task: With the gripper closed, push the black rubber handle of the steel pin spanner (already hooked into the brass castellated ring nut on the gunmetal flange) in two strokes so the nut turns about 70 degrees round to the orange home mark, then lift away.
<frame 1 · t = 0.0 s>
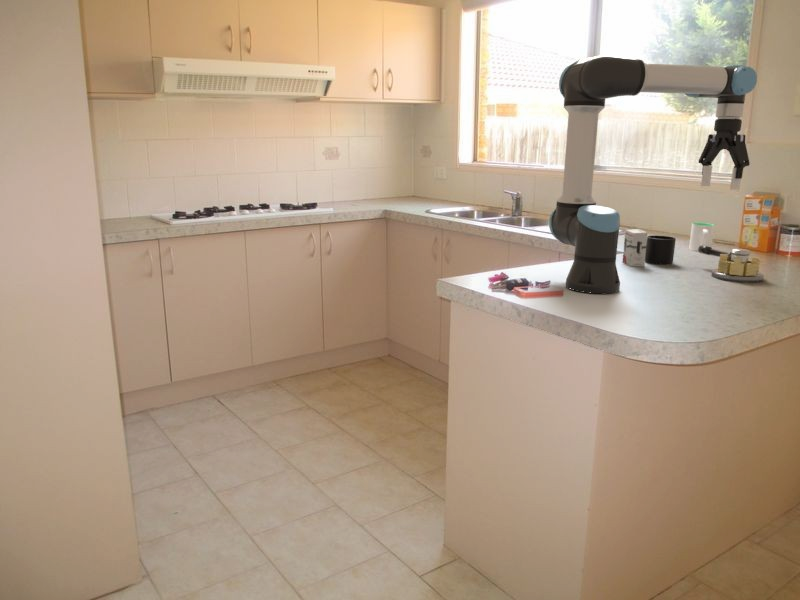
hand: (719, 187, 211), 28 cm above the worktop, fingers open, 13 cm apart
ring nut: (725, 259, 218), point 5 cm above the worktop, hinge at 0.0°
mug 2: (701, 251, 264), on the worktop
ink box: (633, 264, 233), on the worktop
flange: (737, 277, 213), on the worktop
mug: (655, 262, 238), on the worktop
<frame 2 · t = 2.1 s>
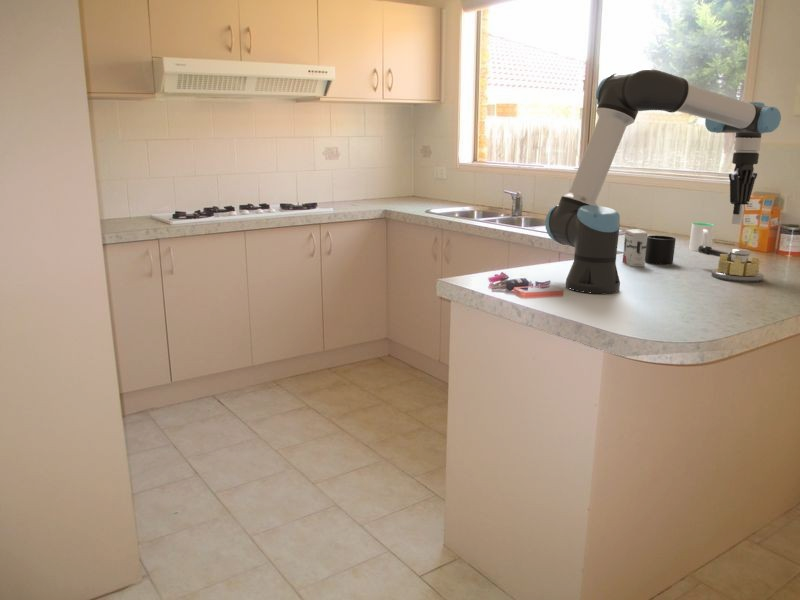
hand: (736, 223, 222), 16 cm above the worktop, fingers closed
nothing on the worktop moved.
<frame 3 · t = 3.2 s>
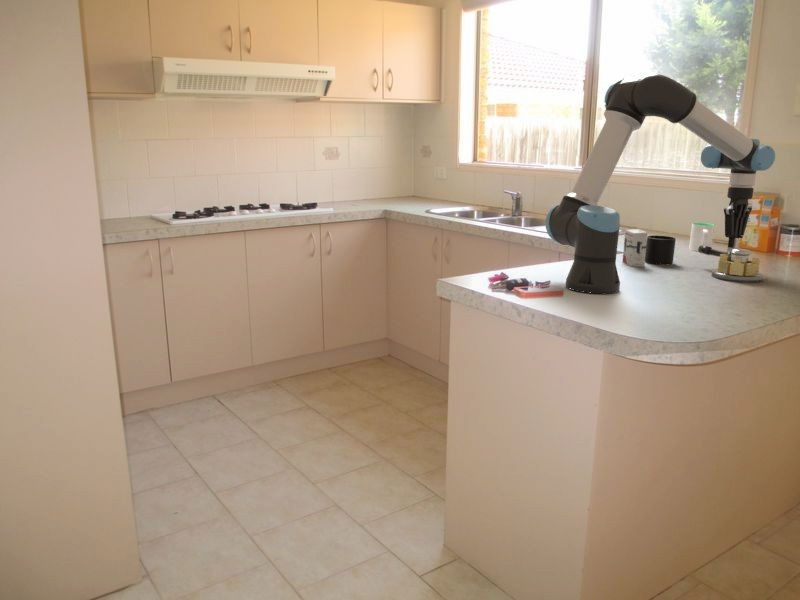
hand: (731, 256, 225), 4 cm above the worktop, fingers closed
nothing on the worktop moved.
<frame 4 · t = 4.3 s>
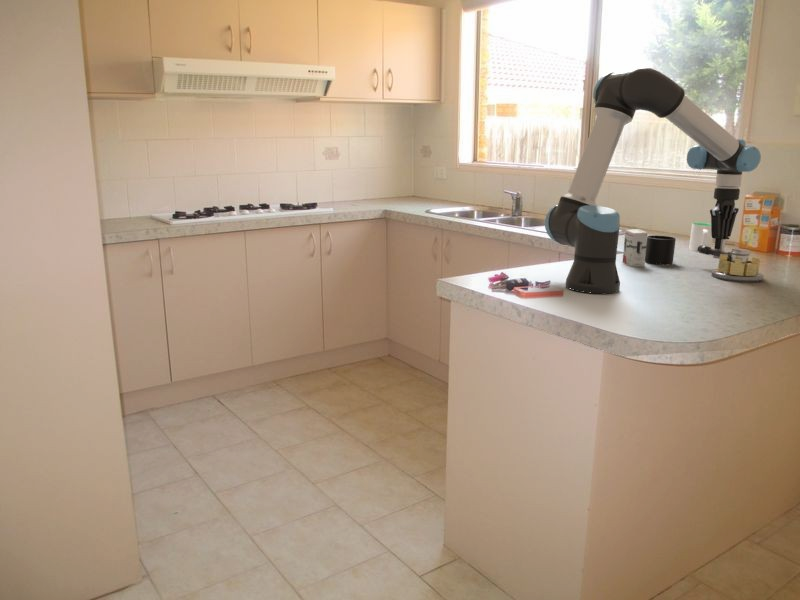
hand: (718, 258, 224), 4 cm above the worktop, fingers closed
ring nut: (724, 259, 218), point 5 cm above the worktop, hinge at 1.1°, touching gripper
everything else where it was.
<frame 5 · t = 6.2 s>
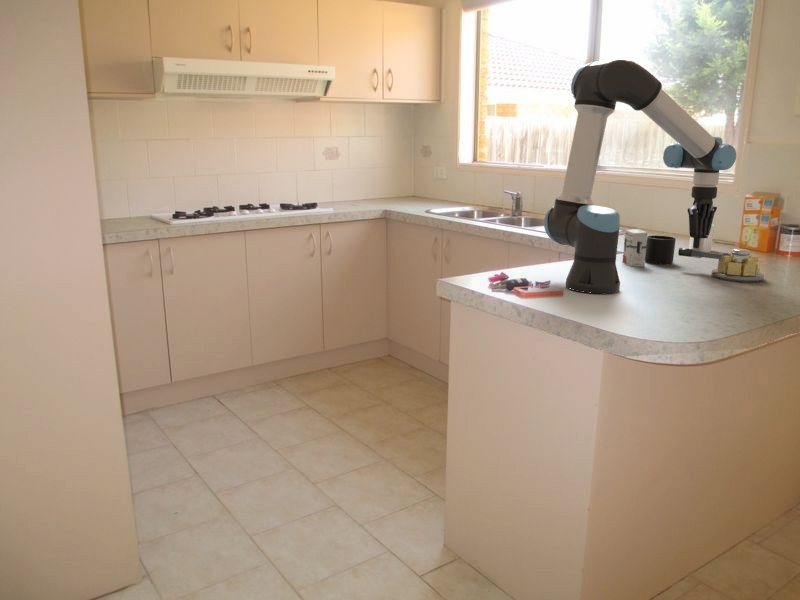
hand: (696, 257, 221), 5 cm above the worktop, fingers closed
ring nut: (717, 260, 216), point 5 cm above the worktop, hinge at 38.4°, touching gripper
everything else where it was.
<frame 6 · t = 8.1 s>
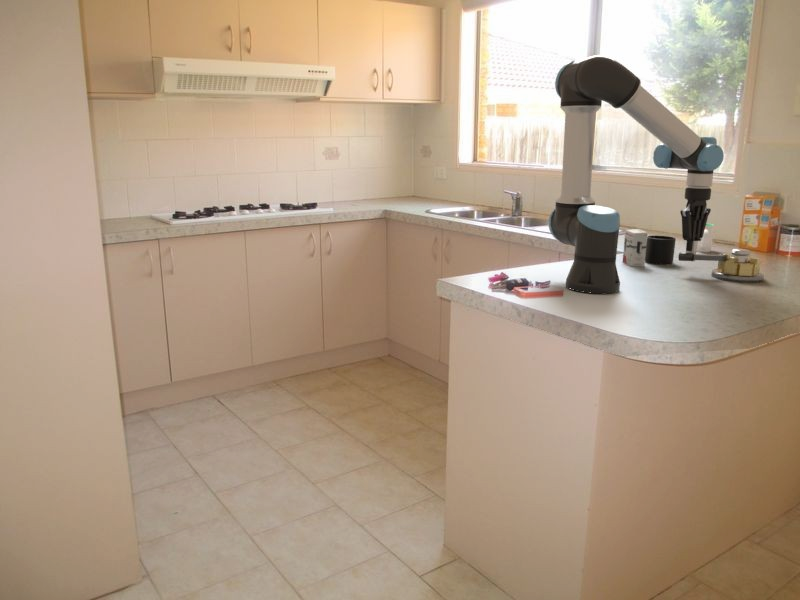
hand: (689, 260, 215), 5 cm above the worktop, fingers closed
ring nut: (718, 262, 212), point 5 cm above the worktop, hinge at 71.6°, touching gripper
everything else where it was.
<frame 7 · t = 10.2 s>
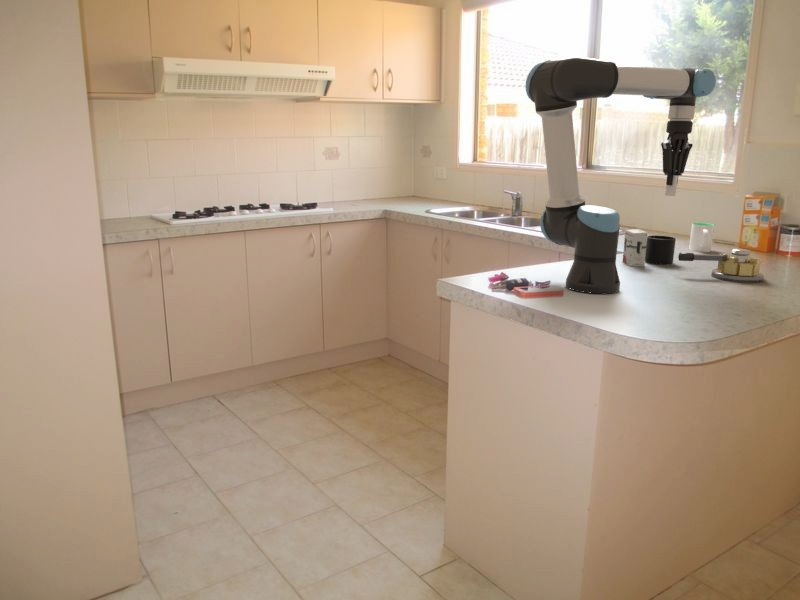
hand: (670, 195, 215), 25 cm above the worktop, fingers closed
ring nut: (718, 262, 212), point 5 cm above the worktop, hinge at 71.6°
everything else where it was.
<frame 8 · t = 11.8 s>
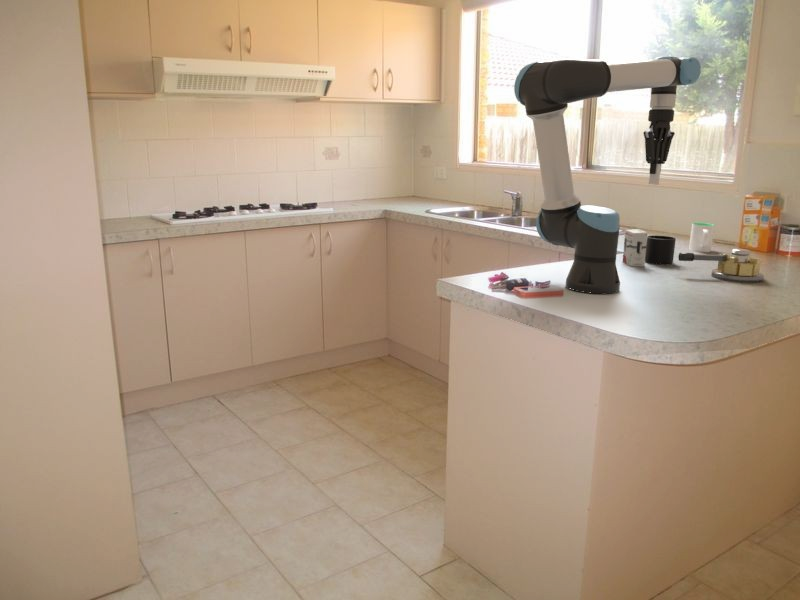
hand: (653, 184, 216), 28 cm above the worktop, fingers closed
nothing on the worktop moved.
at the end: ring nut at +72° (first picture: +0°) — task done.
